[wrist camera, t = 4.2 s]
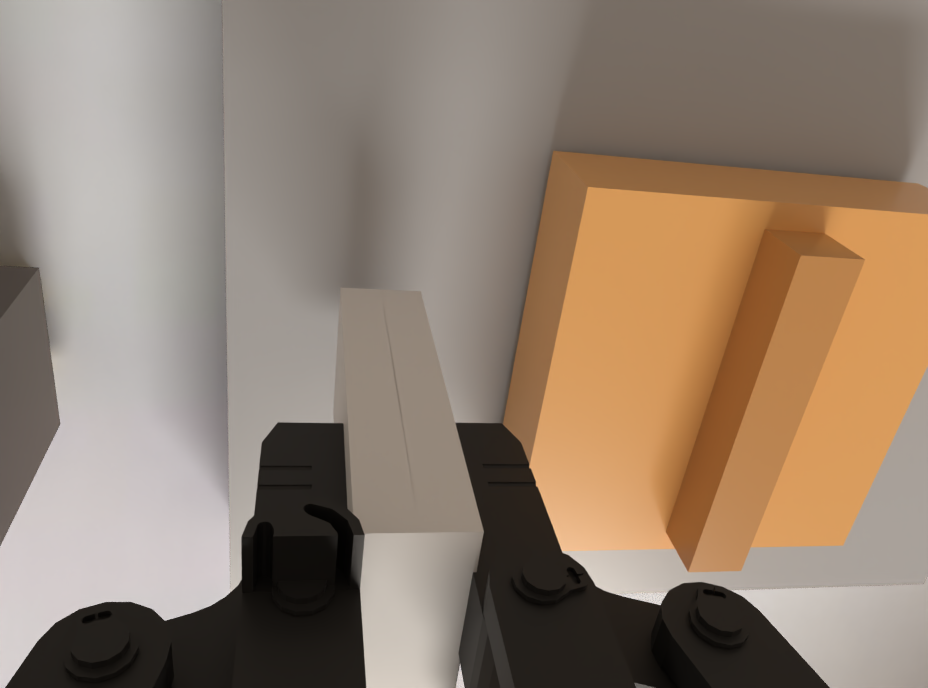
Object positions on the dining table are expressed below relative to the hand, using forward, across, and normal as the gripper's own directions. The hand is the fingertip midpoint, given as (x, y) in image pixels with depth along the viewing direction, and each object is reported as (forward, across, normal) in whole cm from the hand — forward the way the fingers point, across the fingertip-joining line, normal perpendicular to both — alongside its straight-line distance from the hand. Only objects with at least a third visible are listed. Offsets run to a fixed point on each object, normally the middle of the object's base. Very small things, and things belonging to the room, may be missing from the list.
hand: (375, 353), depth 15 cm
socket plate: (+4, +7, 0) cm, 8 cm away
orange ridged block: (+1, +7, 0) cm, 7 cm away
